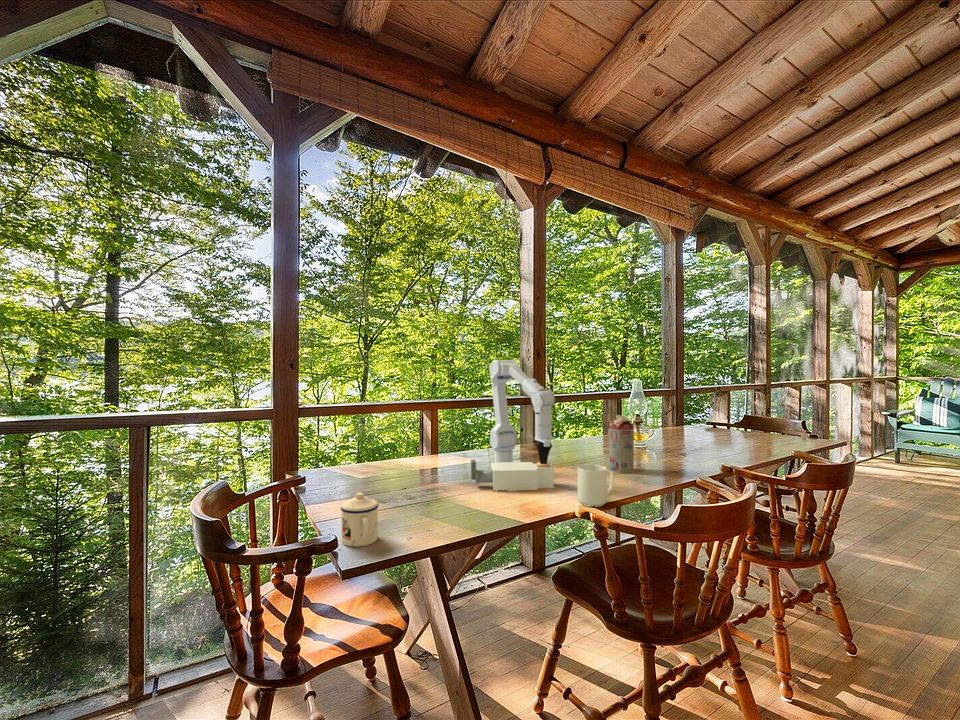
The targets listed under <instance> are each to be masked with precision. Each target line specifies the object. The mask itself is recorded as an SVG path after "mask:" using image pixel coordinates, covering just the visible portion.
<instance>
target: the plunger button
mask: <svg viewBox="0 0 960 720" xmlns="http://www.w3.org/2000/svg"><path fill="white" fill-rule="evenodd" d="M536 464H537V466H538V467H548V466H550V464H551V463H550V462H549V461H547V464H540V461H538V462H536Z"/></svg>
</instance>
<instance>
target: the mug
mask: <svg viewBox="0 0 960 720" xmlns="http://www.w3.org/2000/svg"><path fill="white" fill-rule="evenodd" d="M608 473H610V475H609V476H610V477H609V479H610V480H609V487H608ZM614 473H615V472H614V471H612V470H609V469H608V468H607V467H606V466H604V465H600V464H594V463H593V464H589V463H587V464H580V465H578V466H577V501H578V502H579V504H581V505H582V504H585V505H590V506H595V507H594V508H598V507H603V506H605V504H607V501H608V494H609V493H610V492H611V491H612V490H614V483H615V481H614V478H615V474H614Z"/></svg>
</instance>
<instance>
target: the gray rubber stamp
mask: <svg viewBox="0 0 960 720" xmlns="http://www.w3.org/2000/svg"><path fill="white" fill-rule="evenodd" d="M470 478H471V479H470V480H472V481H473V480H474V482H475V485H477V484H481V483H482V484H483V483H484V484H486V483H487V484H488V483H489V484H491V483H493V470H491V469H490V470H489V469H488V470H486V469H485V470H480V469H477V461H476V459H470Z"/></svg>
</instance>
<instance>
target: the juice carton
mask: <svg viewBox="0 0 960 720" xmlns="http://www.w3.org/2000/svg"><path fill="white" fill-rule="evenodd" d="M627 419H628V417H627V416H625V415H621V414H615V419H613V420H611V421H610V422H609V423H608V425H609V426H608V431H609V433H608V434H609V435H608V439H609V440H608V447H609V448H608V452H609V454H608V455H609V457H608V466H609V468H608V470H610V471H614V473H617V474H625V473H634V458H635V457H634V448H635V447H634V435H635V434H634V430H635V427H634V424H633V423H632V422H630V421H628V420H627Z"/></svg>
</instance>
